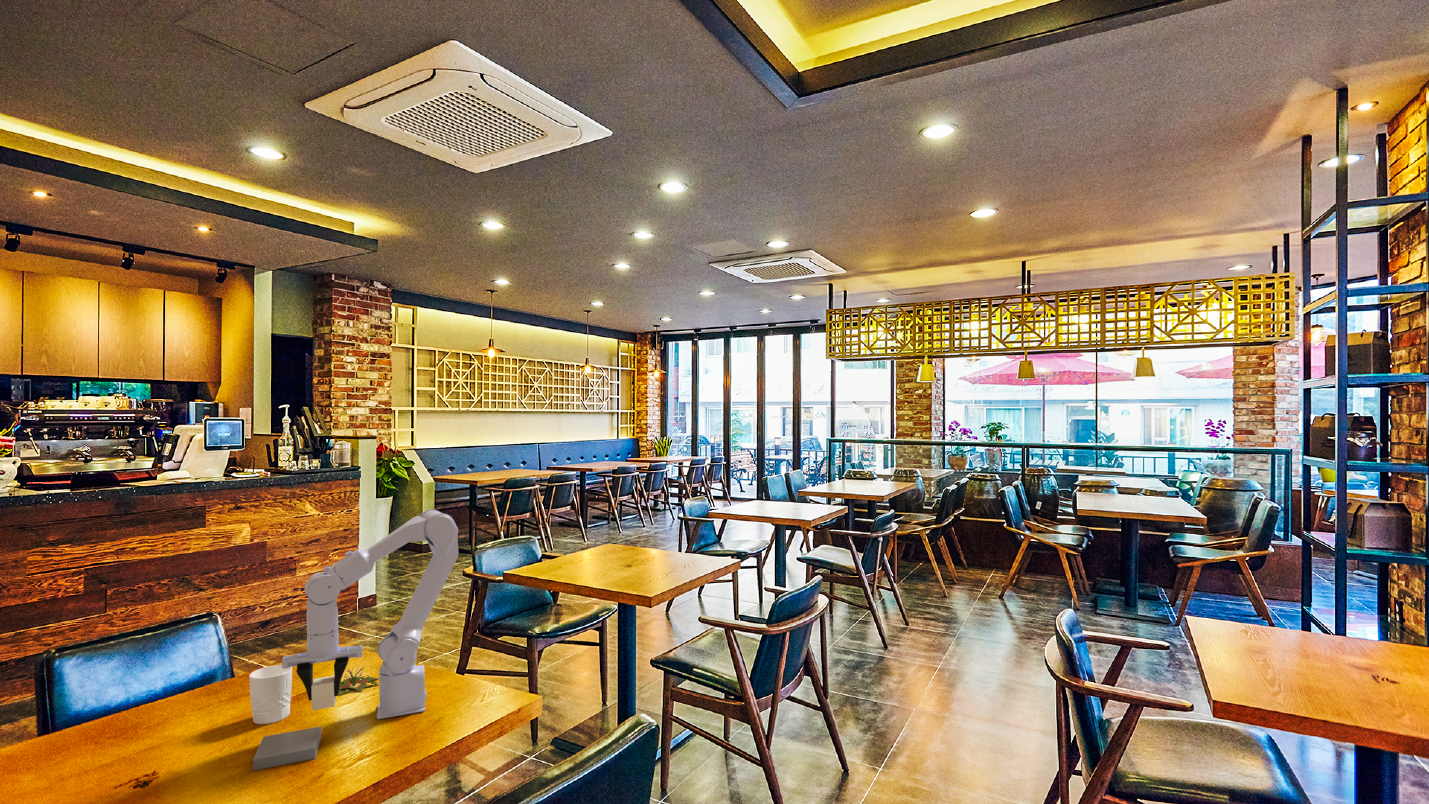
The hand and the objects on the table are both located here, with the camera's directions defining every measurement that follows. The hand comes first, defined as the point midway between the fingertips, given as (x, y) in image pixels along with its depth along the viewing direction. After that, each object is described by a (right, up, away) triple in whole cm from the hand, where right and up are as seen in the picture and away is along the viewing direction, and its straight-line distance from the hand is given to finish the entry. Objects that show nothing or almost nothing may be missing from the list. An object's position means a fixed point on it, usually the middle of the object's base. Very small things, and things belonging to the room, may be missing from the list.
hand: (323, 696), depth 144 cm
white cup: (-14, -7, +5) cm, 17 cm away
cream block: (0, -2, 0) cm, 2 cm away
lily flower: (-5, -8, +23) cm, 24 cm away
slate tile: (-1, -6, -10) cm, 12 cm away
